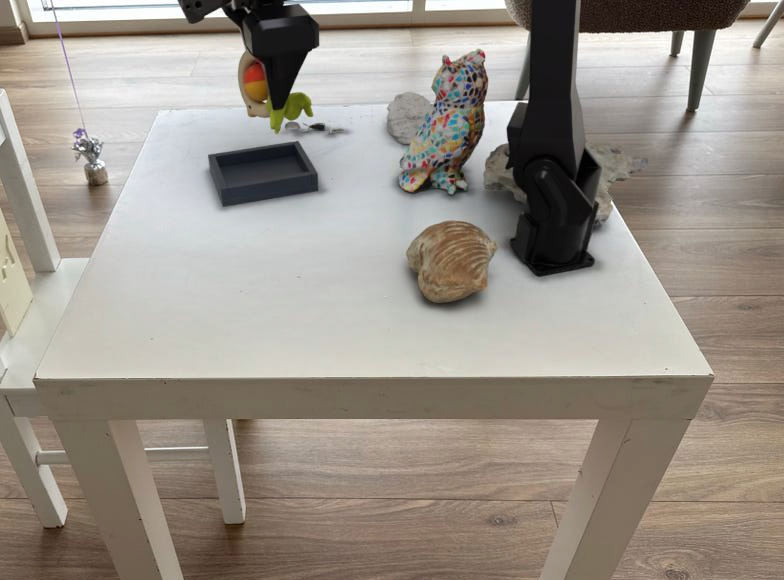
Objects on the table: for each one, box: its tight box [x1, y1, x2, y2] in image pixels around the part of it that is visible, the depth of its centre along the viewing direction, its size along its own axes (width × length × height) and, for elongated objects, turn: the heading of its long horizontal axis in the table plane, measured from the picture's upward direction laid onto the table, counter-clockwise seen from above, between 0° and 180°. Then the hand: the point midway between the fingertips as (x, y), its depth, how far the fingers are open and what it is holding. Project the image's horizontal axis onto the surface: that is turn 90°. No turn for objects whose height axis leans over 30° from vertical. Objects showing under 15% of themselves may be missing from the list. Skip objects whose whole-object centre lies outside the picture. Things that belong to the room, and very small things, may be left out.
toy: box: [284, 120, 345, 137], centre depth 99 cm, size 1×8×2 cm
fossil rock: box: [482, 138, 649, 227], centre depth 82 cm, size 20×6×15 cm
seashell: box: [405, 219, 499, 304], centre depth 71 cm, size 9×7×8 cm
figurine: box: [397, 48, 489, 195], centre depth 83 cm, size 9×9×15 cm
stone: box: [386, 91, 433, 145], centre depth 98 cm, size 10×5×10 cm
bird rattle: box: [237, 49, 314, 135], centre depth 76 cm, size 6×11×9 cm
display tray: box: [207, 140, 319, 207], centre depth 89 cm, size 12×9×2 cm
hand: (268, 93), depth 77 cm, fingers closed on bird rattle, 8 cm apart
